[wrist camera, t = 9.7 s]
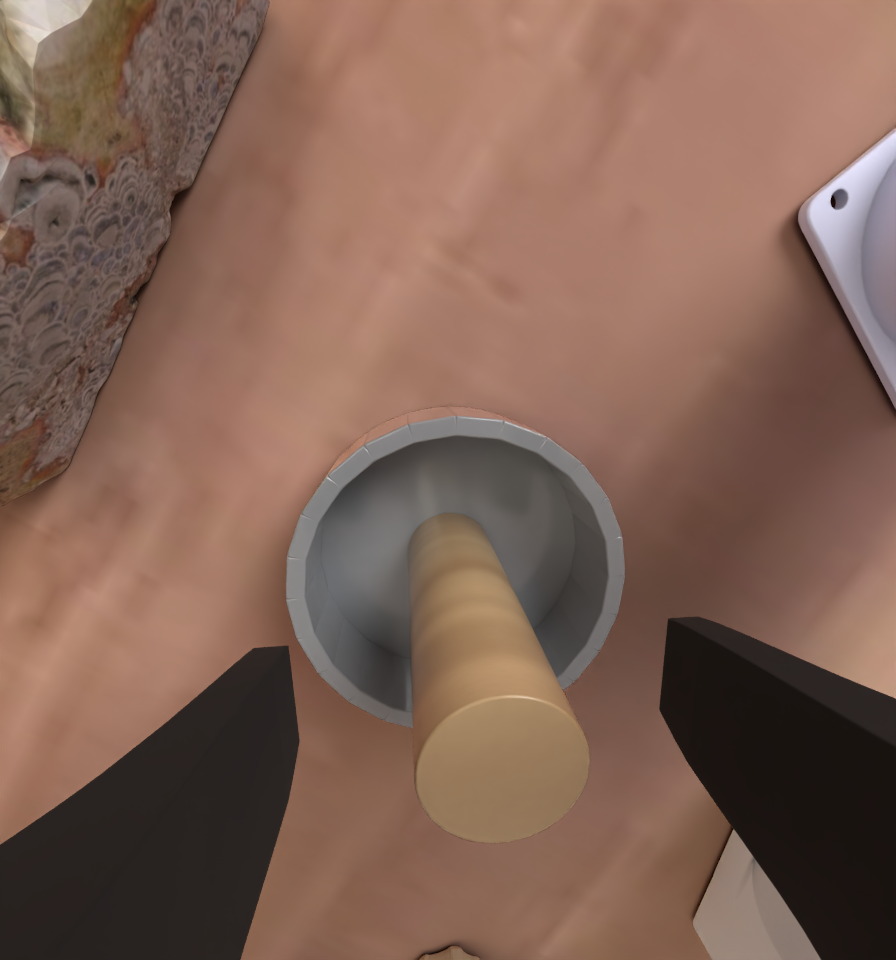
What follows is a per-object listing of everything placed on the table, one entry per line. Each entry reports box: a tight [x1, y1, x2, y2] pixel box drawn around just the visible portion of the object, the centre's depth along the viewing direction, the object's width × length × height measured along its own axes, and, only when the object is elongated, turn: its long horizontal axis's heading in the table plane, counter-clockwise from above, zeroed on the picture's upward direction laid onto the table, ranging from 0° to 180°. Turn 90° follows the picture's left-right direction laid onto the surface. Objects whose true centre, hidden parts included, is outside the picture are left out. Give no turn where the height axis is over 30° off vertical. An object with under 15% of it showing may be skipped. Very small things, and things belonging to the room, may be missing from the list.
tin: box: [286, 407, 625, 728], centre depth 14 cm, size 9×9×3 cm
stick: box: [408, 513, 590, 843], centre depth 11 cm, size 3×3×8 cm
